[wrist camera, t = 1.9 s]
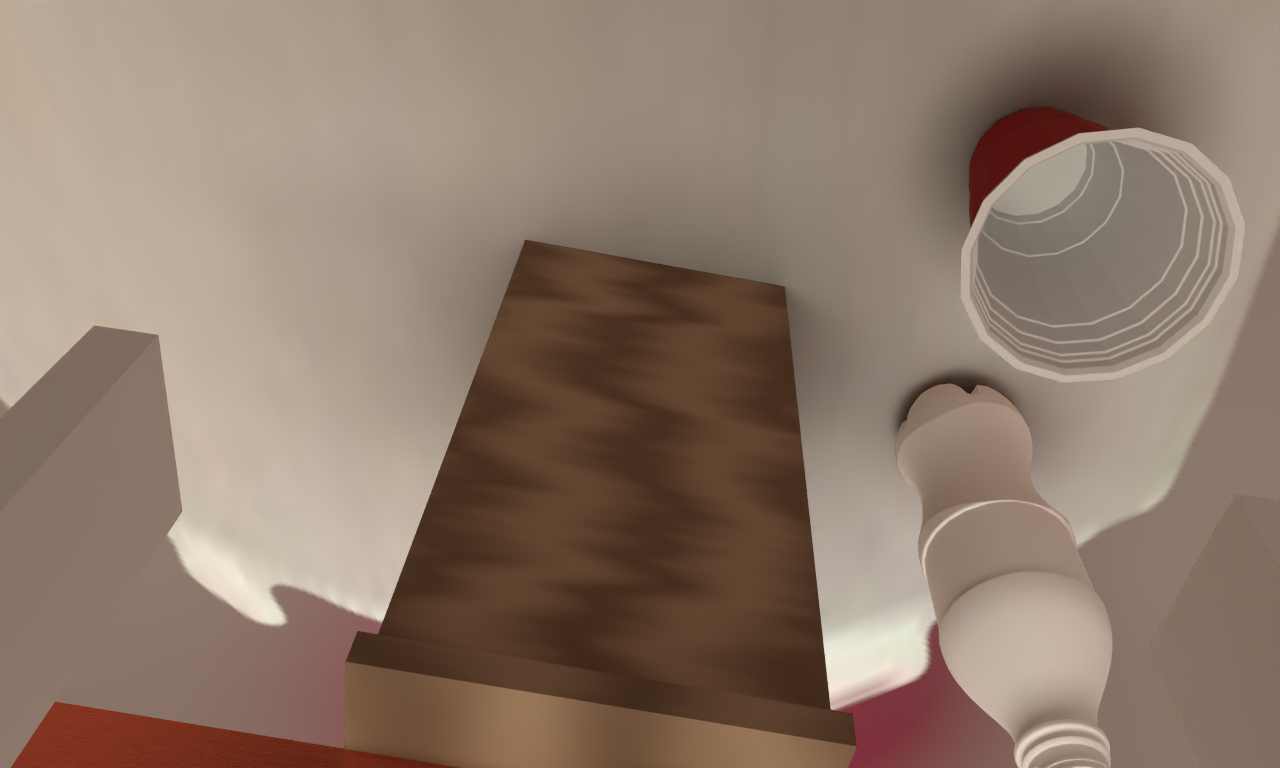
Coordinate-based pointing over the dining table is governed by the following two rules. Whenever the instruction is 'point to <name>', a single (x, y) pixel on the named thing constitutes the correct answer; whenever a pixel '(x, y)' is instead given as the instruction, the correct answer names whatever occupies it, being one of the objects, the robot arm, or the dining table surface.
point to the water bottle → (1006, 578)
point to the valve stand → (612, 542)
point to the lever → (175, 745)
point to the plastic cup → (1094, 245)
